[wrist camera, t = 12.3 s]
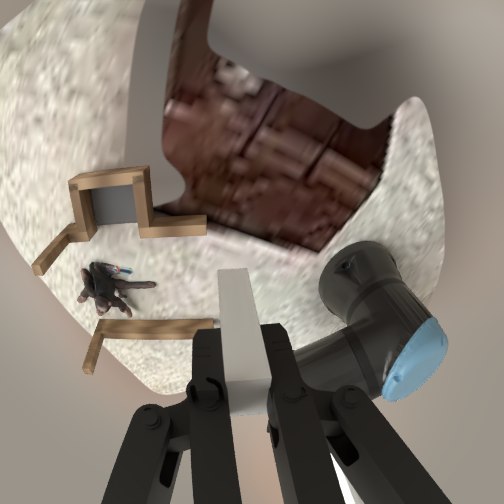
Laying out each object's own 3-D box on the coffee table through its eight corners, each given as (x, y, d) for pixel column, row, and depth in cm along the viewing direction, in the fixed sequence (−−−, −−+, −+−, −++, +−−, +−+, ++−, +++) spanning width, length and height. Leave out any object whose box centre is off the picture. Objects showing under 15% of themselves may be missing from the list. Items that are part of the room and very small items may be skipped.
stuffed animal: (63, 287, 39) (77, 284, 32) (95, 249, 45) (117, 236, 38) (108, 329, 45) (134, 336, 37) (135, 291, 51) (166, 288, 43)
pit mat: (137, 178, 33) (137, 178, 33) (142, 221, 37) (142, 222, 36) (90, 183, 33) (89, 183, 32) (97, 224, 36) (97, 225, 35)
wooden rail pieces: (205, 161, 34) (201, 186, 24) (213, 324, 48) (216, 378, 38) (60, 177, 31) (13, 207, 21) (101, 324, 45) (85, 373, 35)
